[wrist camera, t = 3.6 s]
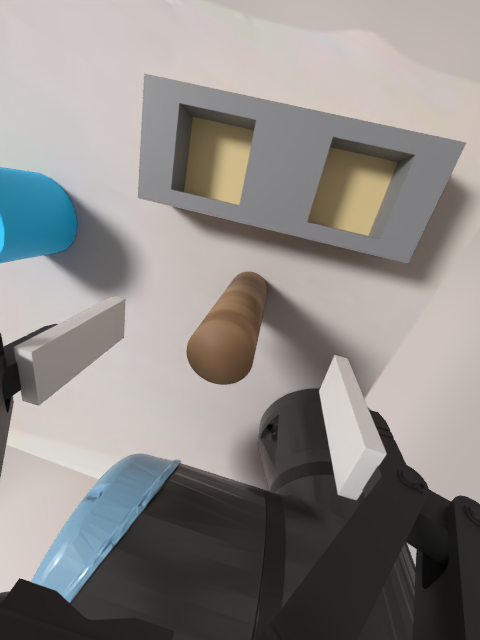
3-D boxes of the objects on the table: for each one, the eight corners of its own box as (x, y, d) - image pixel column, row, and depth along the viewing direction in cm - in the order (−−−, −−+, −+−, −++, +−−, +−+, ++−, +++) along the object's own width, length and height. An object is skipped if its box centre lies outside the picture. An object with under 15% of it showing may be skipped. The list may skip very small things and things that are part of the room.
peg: (271, 302, 28) (261, 378, 16) (237, 311, 29) (200, 389, 17) (261, 267, 27) (241, 317, 14) (225, 277, 28) (176, 333, 15)
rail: (428, 156, 22) (466, 142, 17) (385, 253, 25) (408, 263, 20) (172, 100, 23) (144, 73, 18) (163, 200, 26) (138, 197, 22)
